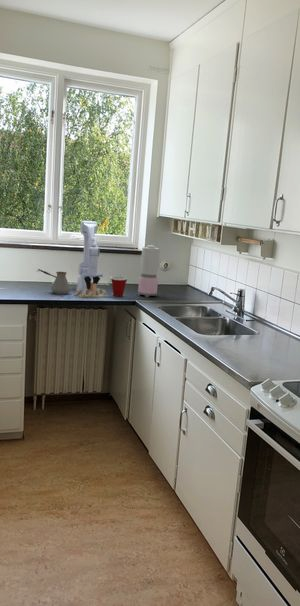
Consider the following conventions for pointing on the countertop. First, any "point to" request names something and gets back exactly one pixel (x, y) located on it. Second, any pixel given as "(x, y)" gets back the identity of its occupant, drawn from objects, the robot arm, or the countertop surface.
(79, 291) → the dish rack
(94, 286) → the upright peach slab
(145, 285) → the blender
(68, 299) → the countertop surface
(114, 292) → the plastic cup
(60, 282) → the coffee pot
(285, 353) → the countertop surface
